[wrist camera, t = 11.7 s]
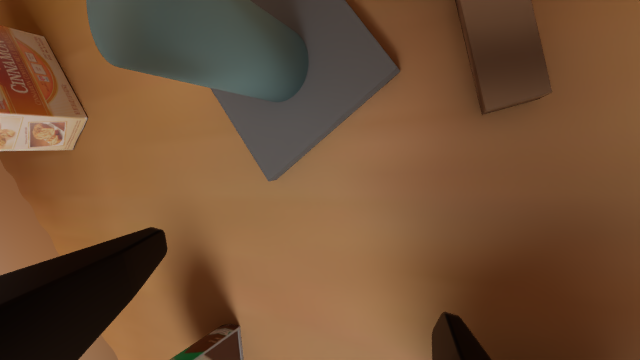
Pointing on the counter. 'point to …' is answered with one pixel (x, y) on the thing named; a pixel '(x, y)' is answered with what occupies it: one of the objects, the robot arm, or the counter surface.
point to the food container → (216, 346)
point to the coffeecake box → (35, 96)
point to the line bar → (504, 52)
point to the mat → (311, 83)
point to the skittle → (202, 44)
